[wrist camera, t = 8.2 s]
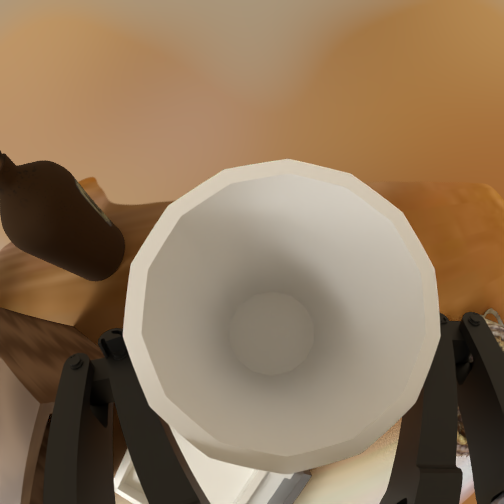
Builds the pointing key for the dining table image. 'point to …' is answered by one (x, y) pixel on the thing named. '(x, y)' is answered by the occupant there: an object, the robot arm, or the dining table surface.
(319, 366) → the foam cup
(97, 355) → the cabinet
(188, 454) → the tray
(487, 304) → the dining table surface
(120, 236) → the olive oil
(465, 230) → the dining table surface
